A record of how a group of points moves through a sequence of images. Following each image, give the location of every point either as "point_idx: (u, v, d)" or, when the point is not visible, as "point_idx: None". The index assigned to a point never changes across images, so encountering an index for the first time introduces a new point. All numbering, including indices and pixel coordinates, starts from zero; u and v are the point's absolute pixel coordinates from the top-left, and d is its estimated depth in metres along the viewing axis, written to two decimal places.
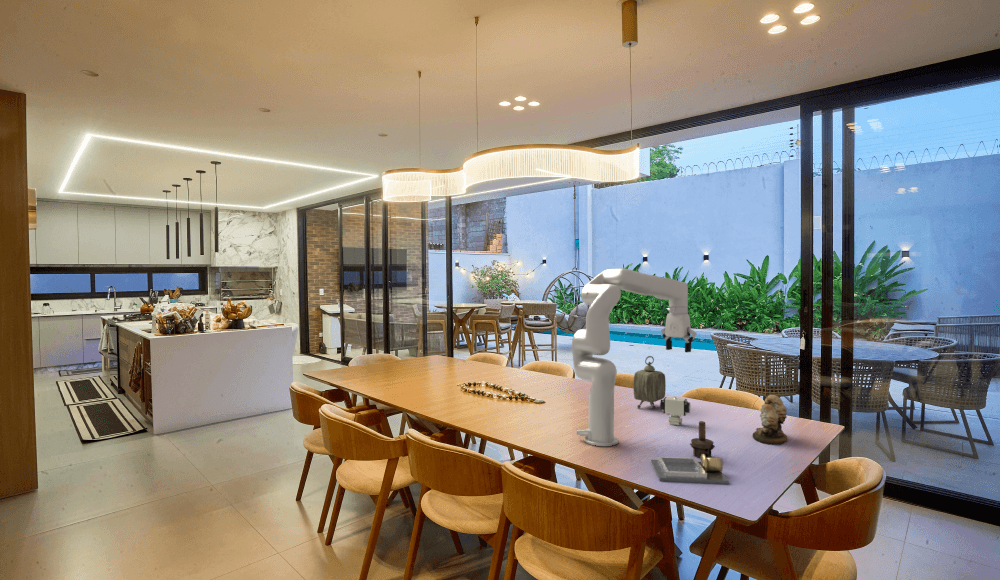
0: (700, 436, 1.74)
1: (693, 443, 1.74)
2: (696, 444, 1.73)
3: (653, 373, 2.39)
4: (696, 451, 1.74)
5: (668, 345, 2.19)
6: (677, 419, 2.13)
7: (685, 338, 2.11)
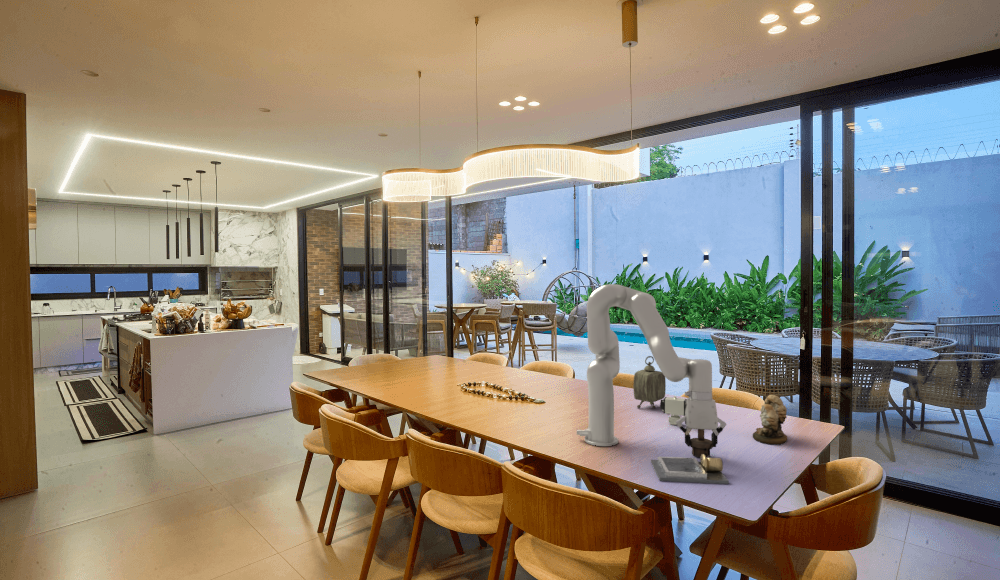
0: (699, 436, 1.75)
1: (692, 443, 1.74)
2: (695, 444, 1.73)
3: (653, 373, 2.39)
4: (695, 451, 1.75)
5: None
6: (677, 419, 2.13)
7: (714, 430, 1.73)
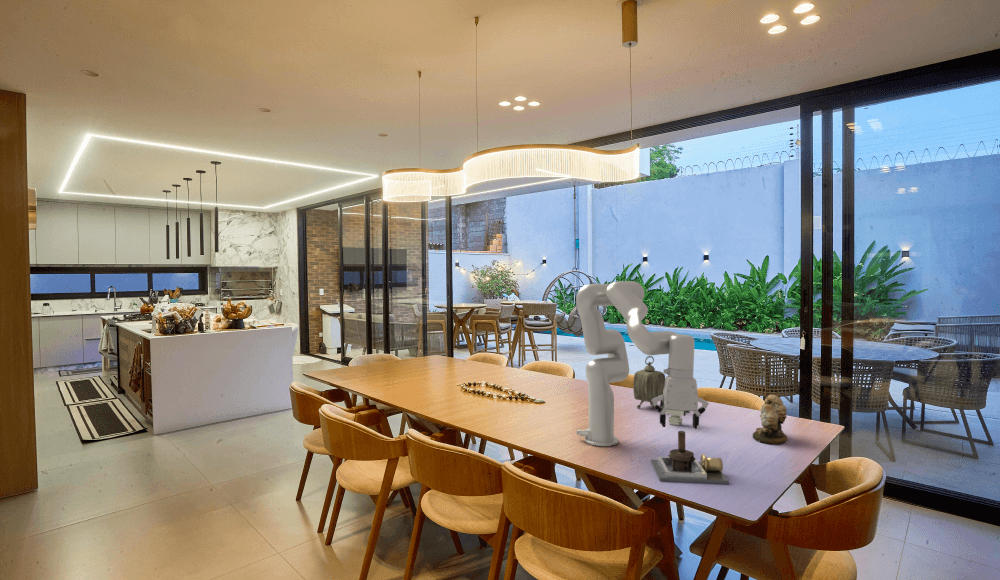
0: (679, 447, 1.59)
1: (671, 455, 1.59)
2: (674, 456, 1.58)
3: (653, 373, 2.39)
4: (675, 464, 1.59)
5: None
6: (677, 419, 2.13)
7: (695, 410, 1.58)
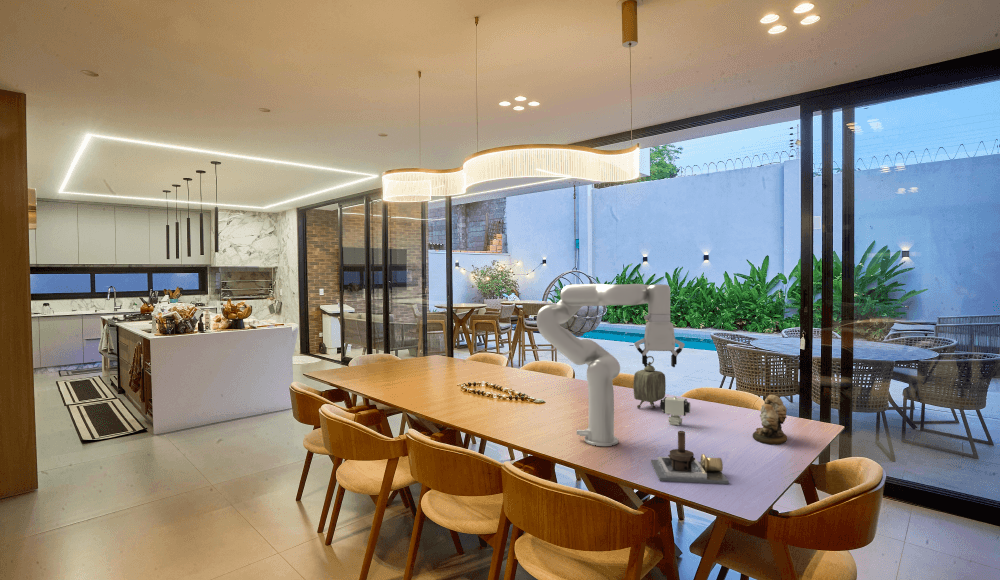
0: (679, 447, 1.60)
1: (671, 455, 1.59)
2: (674, 456, 1.58)
3: (653, 373, 2.39)
4: (675, 464, 1.59)
5: (646, 361, 1.81)
6: (677, 419, 2.13)
7: (673, 351, 1.79)
